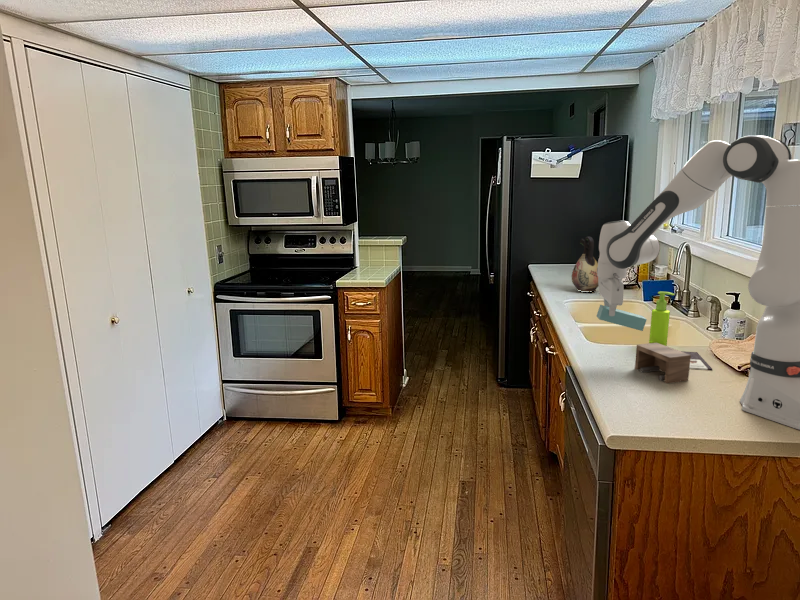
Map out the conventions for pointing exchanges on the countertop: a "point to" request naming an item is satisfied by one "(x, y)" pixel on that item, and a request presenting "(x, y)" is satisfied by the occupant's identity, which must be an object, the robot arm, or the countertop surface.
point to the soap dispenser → (660, 321)
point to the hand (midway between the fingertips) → (609, 313)
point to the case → (622, 318)
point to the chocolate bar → (697, 361)
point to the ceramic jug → (586, 268)
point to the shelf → (663, 361)
